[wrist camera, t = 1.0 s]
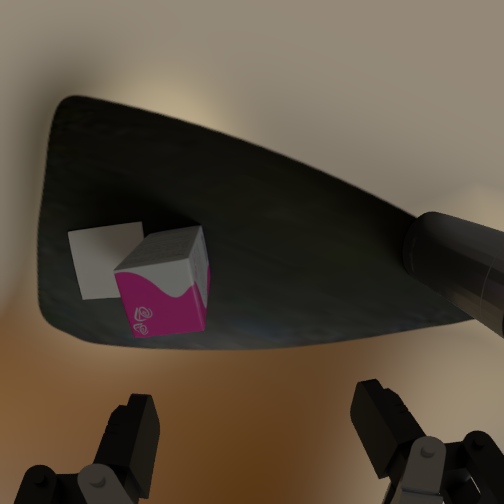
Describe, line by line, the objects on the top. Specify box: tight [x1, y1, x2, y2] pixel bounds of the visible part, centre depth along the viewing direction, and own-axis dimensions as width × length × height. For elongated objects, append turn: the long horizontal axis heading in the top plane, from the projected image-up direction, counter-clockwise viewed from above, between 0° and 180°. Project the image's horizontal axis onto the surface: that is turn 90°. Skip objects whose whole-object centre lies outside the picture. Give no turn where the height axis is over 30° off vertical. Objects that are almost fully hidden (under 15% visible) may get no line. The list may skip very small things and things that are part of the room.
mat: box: [68, 221, 144, 299], centre depth 30 cm, size 9×8×1 cm
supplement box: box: [113, 225, 211, 338], centre depth 25 cm, size 6×6×12 cm
